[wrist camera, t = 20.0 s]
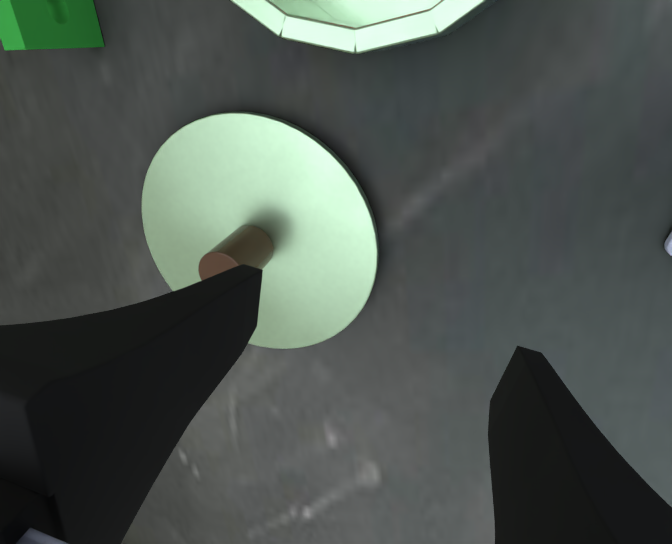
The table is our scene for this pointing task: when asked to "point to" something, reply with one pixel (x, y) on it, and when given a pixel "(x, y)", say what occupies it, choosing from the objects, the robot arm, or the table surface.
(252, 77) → the table surface
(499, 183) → the table surface
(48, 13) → the pipe clamp
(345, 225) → the pot lid
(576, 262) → the table surface
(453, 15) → the pot
